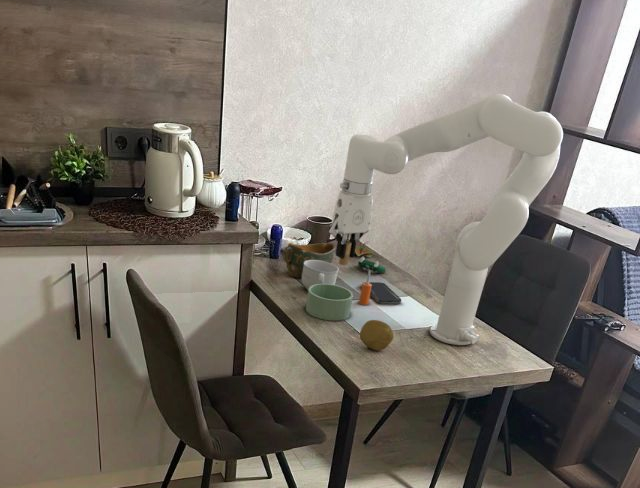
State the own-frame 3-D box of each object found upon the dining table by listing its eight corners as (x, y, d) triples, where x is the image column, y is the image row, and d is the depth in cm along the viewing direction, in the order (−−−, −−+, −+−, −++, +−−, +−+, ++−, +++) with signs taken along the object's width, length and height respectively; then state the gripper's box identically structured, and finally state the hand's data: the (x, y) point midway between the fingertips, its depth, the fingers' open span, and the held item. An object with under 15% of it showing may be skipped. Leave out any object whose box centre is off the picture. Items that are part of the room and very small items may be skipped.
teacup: (303, 281, 228) (307, 256, 224) (337, 287, 227) (341, 262, 222) (295, 296, 216) (298, 270, 212) (330, 303, 215) (334, 277, 211)
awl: (349, 264, 199) (356, 228, 193) (342, 265, 198) (348, 229, 192) (344, 261, 201) (350, 225, 195) (336, 262, 199) (343, 226, 194)
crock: (358, 317, 208) (361, 297, 205) (322, 323, 202) (325, 302, 199) (332, 301, 217) (335, 281, 213) (297, 305, 210) (299, 286, 207)
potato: (355, 343, 193) (361, 315, 189) (382, 343, 195) (388, 315, 191) (363, 354, 188) (369, 326, 183) (391, 354, 189) (397, 326, 185)
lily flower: (340, 255, 255) (343, 242, 252) (347, 245, 264) (349, 233, 262) (374, 261, 253) (376, 248, 250) (379, 252, 263) (381, 239, 260)
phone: (383, 282, 232) (402, 300, 220) (382, 285, 233) (401, 303, 221) (360, 282, 230) (379, 300, 218) (360, 285, 230) (378, 303, 219)
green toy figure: (358, 271, 247) (354, 262, 242) (363, 262, 248) (359, 252, 242) (381, 279, 244) (378, 270, 238) (387, 270, 244) (383, 260, 238)
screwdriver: (369, 304, 218) (376, 272, 212) (362, 305, 217) (368, 273, 211) (364, 301, 220) (370, 269, 214) (357, 302, 218) (363, 269, 213)
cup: (270, 265, 237) (274, 234, 231) (328, 267, 242) (333, 236, 237) (280, 279, 227) (284, 248, 221) (340, 281, 232) (345, 249, 227)
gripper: (340, 192, 181) (328, 263, 191) (389, 190, 189) (375, 259, 200) (323, 183, 186) (312, 254, 196) (371, 182, 194) (359, 250, 205)
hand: (344, 256), depth 198 cm, fingers closed on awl, 2 cm apart
